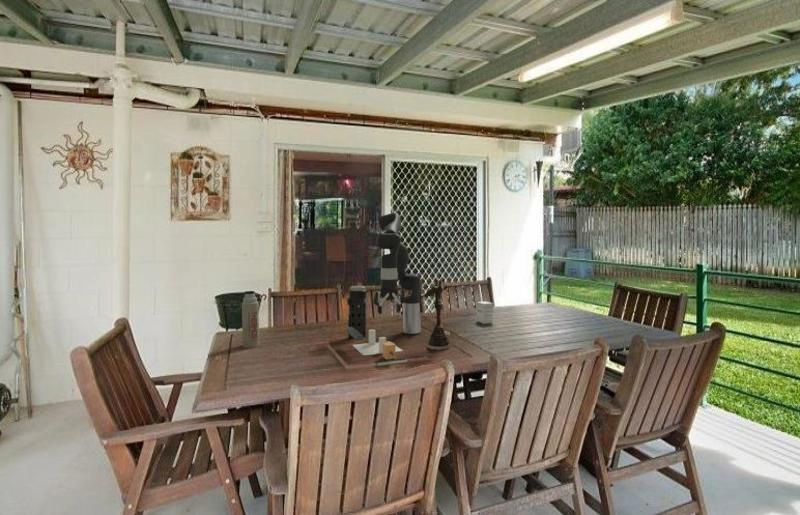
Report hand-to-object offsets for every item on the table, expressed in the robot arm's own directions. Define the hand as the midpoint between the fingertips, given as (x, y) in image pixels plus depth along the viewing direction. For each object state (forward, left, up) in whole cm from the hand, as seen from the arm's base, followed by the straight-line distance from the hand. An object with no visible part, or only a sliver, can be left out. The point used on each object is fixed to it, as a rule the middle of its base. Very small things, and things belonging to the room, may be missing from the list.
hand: (389, 313), depth 209 cm
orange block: (0, +2, -21) cm, 21 cm away
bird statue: (-30, -15, -22) cm, 40 cm away
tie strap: (+12, -17, -13) cm, 24 cm away
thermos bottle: (+57, -49, -22) cm, 78 cm away
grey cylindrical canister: (-83, -52, -22) cm, 100 cm away
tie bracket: (0, -17, -22) cm, 28 cm away
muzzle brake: (+2, -45, -22) cm, 50 cm away
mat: (0, 0, -22) cm, 22 cm away
